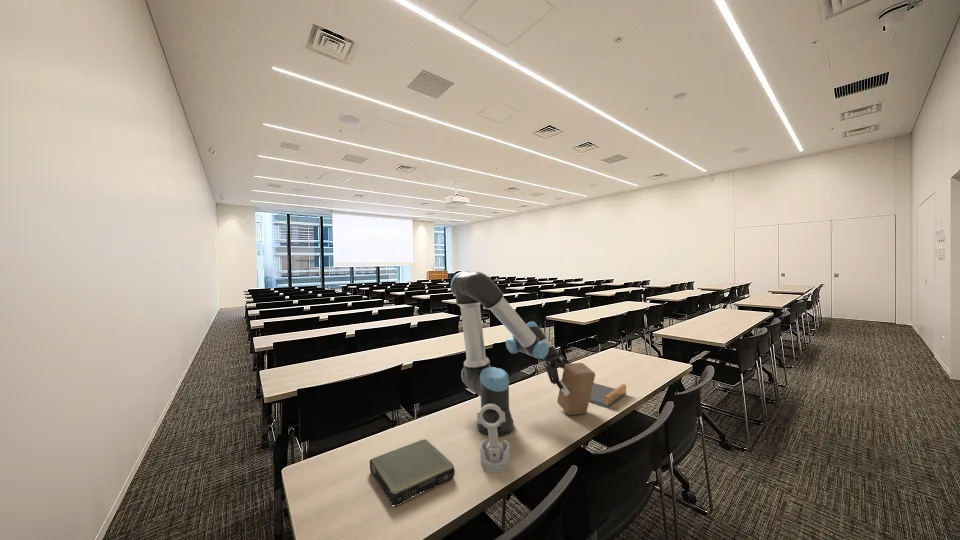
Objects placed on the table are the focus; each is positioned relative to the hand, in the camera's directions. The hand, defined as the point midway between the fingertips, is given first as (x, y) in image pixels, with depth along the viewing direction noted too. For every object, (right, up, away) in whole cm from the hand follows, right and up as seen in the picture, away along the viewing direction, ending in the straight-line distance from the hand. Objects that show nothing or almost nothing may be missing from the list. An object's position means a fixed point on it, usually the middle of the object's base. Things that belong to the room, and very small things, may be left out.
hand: (575, 390), depth 150 cm
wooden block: (-2, -9, +2) cm, 9 cm away
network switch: (-65, -14, -40) cm, 78 cm away
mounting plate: (+16, -9, +18) cm, 26 cm away
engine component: (-38, -13, -35) cm, 53 cm away
